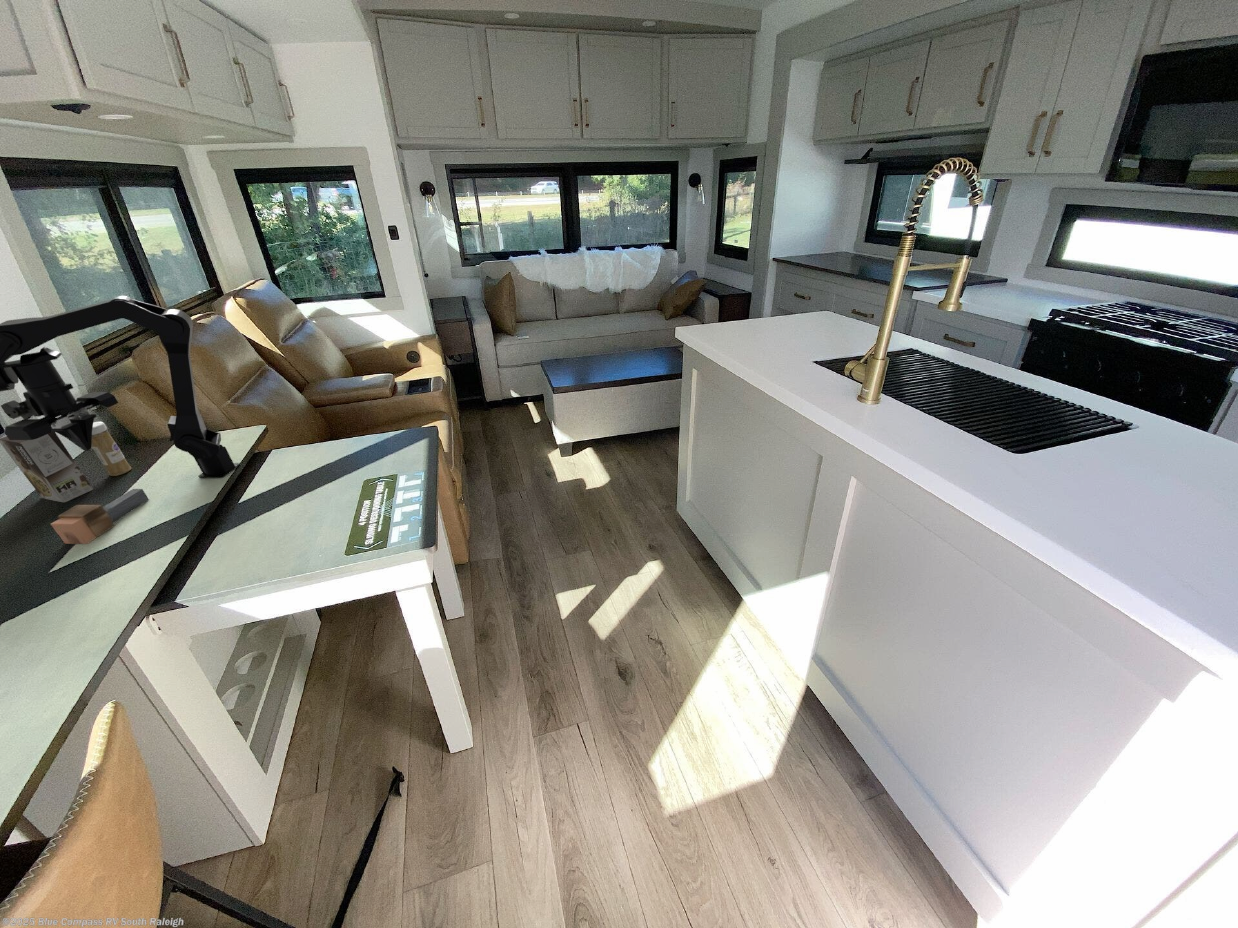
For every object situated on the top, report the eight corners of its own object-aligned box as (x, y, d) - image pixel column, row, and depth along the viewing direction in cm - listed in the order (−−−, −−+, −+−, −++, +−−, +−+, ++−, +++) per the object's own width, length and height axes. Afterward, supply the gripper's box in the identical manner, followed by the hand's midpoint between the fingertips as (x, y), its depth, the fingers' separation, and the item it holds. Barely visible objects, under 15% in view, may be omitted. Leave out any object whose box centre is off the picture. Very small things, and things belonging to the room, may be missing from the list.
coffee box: (95, 489, 125) (55, 429, 117) (63, 503, 120) (19, 442, 112) (72, 484, 128) (31, 426, 120) (40, 498, 123) (-5, 438, 115)
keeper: (91, 525, 111) (76, 504, 109) (115, 525, 111) (101, 504, 108) (72, 536, 108) (57, 516, 105) (97, 536, 107) (82, 516, 105)
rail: (139, 499, 120) (132, 488, 118) (149, 499, 120) (142, 488, 118) (70, 543, 106) (62, 531, 105) (81, 543, 106) (72, 532, 104)
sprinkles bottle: (130, 472, 132) (101, 425, 125) (108, 478, 130) (76, 430, 123) (133, 465, 135) (104, 419, 128) (111, 471, 133) (80, 424, 126)
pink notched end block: (74, 537, 108) (60, 518, 105) (96, 537, 107) (82, 518, 105) (65, 543, 106) (50, 524, 104) (86, 543, 106) (72, 524, 103)
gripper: (56, 368, 115) (96, 431, 123) (-44, 402, 99) (9, 471, 107) (100, 367, 114) (137, 430, 122) (7, 401, 98) (56, 471, 106)
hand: (87, 449), depth 114 cm, fingers closed
